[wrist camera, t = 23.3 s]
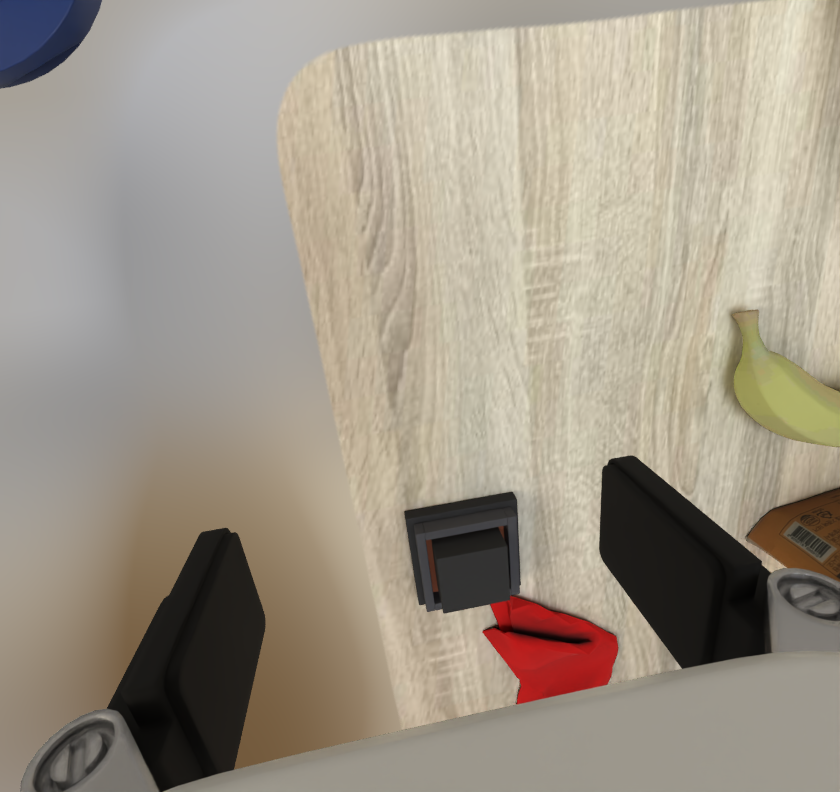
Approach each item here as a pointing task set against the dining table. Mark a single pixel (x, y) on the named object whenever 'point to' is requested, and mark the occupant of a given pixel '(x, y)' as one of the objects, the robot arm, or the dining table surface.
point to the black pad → (471, 569)
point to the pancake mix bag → (803, 534)
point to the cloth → (551, 649)
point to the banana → (783, 391)
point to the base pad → (455, 522)
